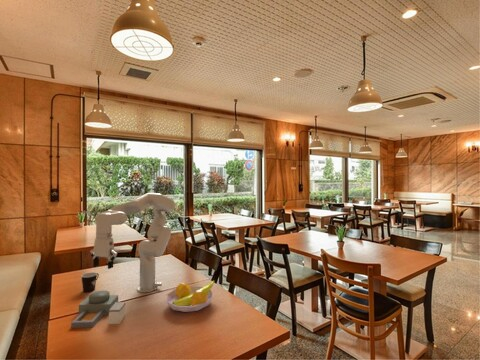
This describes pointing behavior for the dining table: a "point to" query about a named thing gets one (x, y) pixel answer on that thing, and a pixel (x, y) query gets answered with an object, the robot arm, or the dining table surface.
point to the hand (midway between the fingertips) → (103, 267)
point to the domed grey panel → (94, 308)
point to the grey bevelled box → (117, 313)
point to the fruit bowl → (189, 297)
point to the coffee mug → (89, 281)
